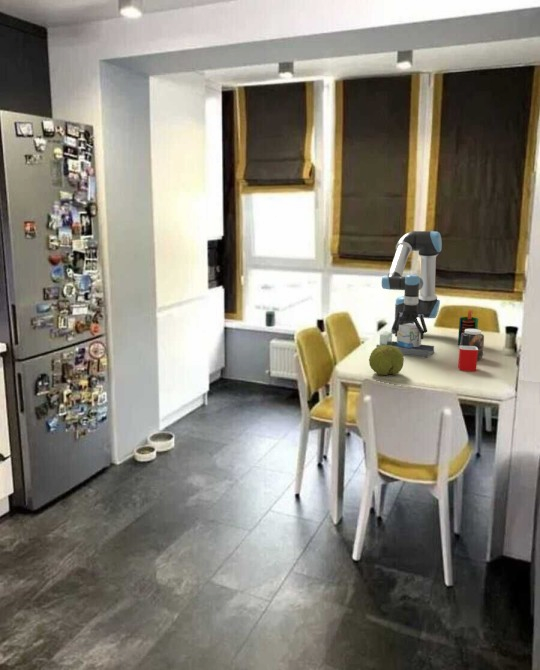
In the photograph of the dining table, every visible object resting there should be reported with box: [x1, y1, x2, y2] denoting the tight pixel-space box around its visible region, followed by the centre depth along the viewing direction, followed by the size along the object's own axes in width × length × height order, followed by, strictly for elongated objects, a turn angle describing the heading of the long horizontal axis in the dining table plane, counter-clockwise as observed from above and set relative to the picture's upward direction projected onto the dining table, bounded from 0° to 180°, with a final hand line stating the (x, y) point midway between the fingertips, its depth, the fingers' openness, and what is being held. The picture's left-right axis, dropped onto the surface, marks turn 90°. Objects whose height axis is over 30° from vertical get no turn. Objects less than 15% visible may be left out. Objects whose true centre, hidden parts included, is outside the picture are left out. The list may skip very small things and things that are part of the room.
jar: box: [459, 329, 485, 362], centre depth 300 cm, size 12×12×15 cm
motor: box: [457, 309, 479, 346], centre depth 330 cm, size 10×9×20 cm
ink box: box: [398, 323, 420, 348], centre depth 311 cm, size 8×8×12 cm
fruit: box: [368, 345, 405, 376], centre depth 271 cm, size 16×14×15 cm
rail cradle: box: [375, 331, 435, 359], centre depth 314 cm, size 14×28×9 cm, turn 60°
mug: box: [457, 345, 478, 372], centre depth 282 cm, size 12×8×11 cm
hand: (408, 343), depth 312 cm, fingers closed on ink box, 11 cm apart
